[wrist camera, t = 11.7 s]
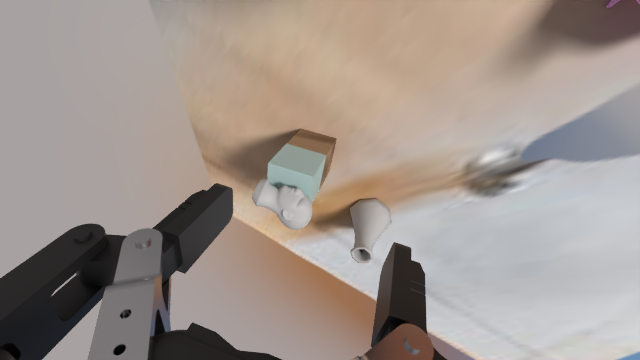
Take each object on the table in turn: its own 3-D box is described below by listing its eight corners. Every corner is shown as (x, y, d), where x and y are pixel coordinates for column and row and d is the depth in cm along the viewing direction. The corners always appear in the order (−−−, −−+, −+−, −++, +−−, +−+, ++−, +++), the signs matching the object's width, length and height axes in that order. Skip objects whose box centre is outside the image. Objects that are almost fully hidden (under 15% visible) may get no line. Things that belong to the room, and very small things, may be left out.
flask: (342, 205, 50) (328, 243, 42) (379, 191, 47) (371, 231, 39) (362, 234, 52) (352, 276, 44) (398, 224, 49) (395, 267, 41)
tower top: (286, 143, 40) (268, 162, 35) (326, 155, 39) (313, 176, 34) (282, 177, 43) (265, 199, 38) (319, 189, 42) (306, 213, 37)
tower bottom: (300, 128, 45) (286, 143, 40) (336, 138, 44) (326, 155, 39) (296, 160, 48) (282, 178, 43) (329, 170, 47) (319, 189, 42)
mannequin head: (323, 199, 37) (300, 225, 38) (274, 161, 36) (252, 190, 37) (321, 213, 33) (295, 242, 34) (266, 171, 32) (241, 203, 33)
